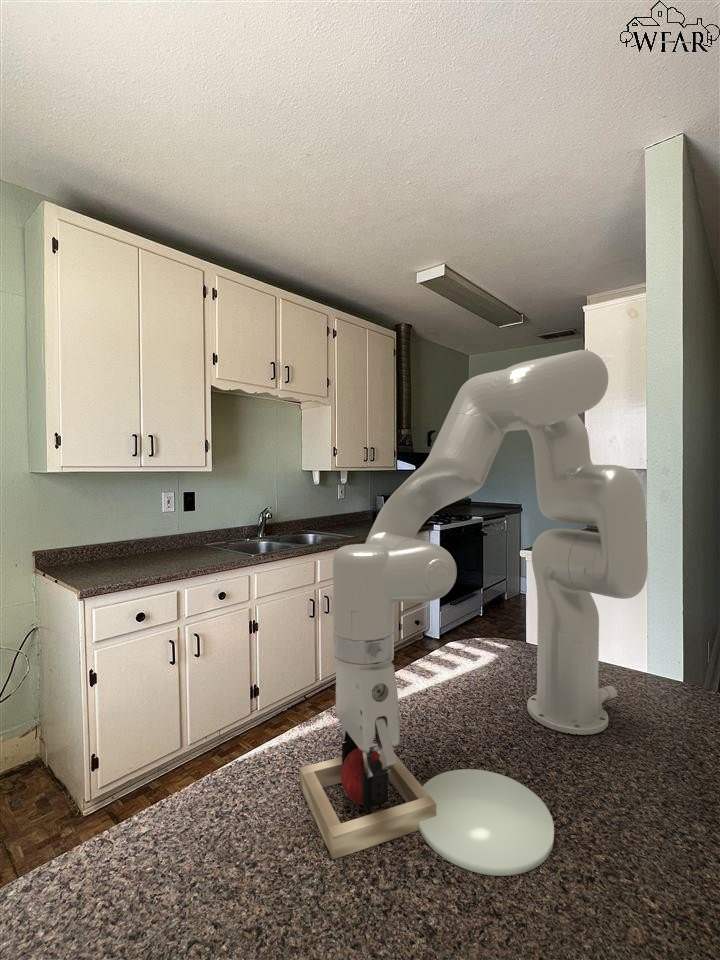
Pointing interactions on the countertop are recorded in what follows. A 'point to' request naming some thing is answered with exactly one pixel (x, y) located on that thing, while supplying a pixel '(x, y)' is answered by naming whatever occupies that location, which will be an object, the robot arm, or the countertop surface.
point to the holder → (368, 827)
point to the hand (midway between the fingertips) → (364, 785)
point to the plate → (487, 823)
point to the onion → (355, 774)
